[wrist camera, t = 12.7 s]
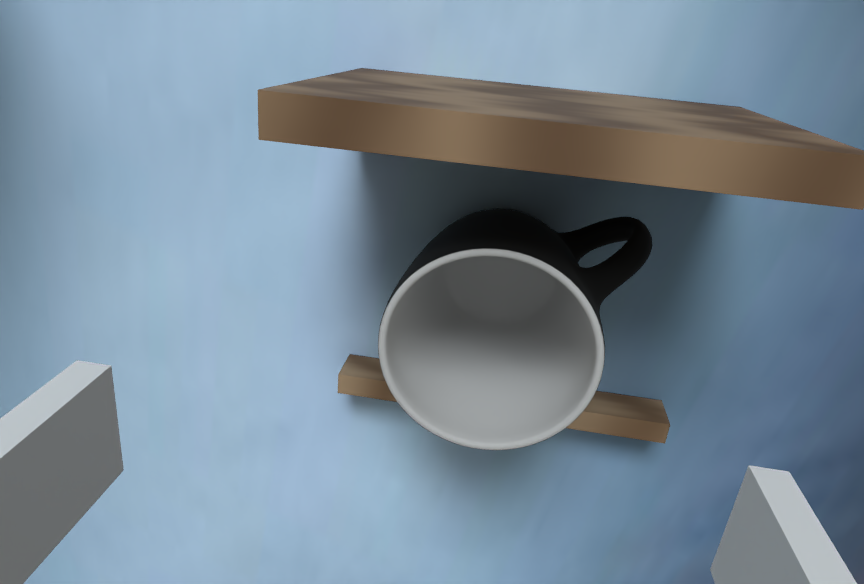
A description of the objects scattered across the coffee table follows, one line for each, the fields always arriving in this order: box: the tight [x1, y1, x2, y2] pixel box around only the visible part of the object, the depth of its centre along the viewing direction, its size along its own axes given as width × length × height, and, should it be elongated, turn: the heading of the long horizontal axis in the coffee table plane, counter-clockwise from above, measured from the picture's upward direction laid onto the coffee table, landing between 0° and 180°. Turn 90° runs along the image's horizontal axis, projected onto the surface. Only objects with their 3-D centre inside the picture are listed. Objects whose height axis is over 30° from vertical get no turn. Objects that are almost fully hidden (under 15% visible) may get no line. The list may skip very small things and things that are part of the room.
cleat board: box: [258, 68, 864, 443], centre depth 28 cm, size 18×17×13 cm
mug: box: [378, 209, 652, 450], centre depth 29 cm, size 12×9×10 cm
